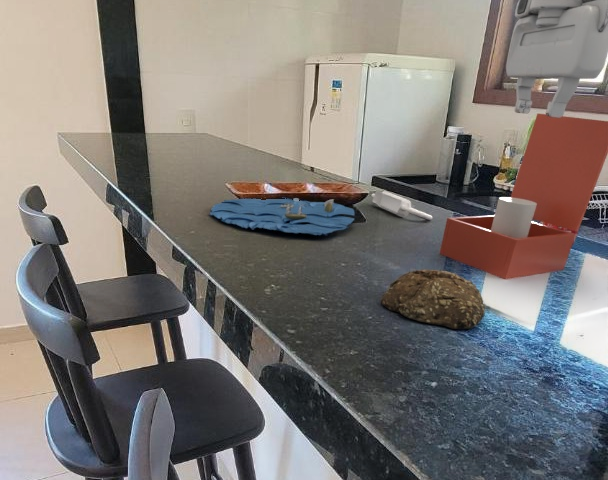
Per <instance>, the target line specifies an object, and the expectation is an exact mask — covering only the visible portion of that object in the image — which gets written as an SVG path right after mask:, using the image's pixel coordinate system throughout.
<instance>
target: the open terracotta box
mask: <svg viewBox="0 0 608 480" xmlns="http://www.w3.org/2000/svg"><path fill="white" fill-rule="evenodd" d="M494 216H495V214H492V215H491V214H490V215H475V216H473V215H472V216H458V217H447V218H446V222H445V226H444V230H443V236H442V240H441V245H440V249H439V255H441V256H444V257H446V258H449V259H452V260H454V261H457V262H459V263H462V264H465V265H466V266H469V267H472V268H473V269H474V268H475V269H477V270H480V271H482V272H485V273H488V274H490V275H492V276H495V277H498V278H501V279H503V280H511V279H517V278H524V277H530V276H537V275H542V274H549V273H554V272H559V271H560V272H561V271H564V270H565V267H566V264H567V262H568V258H569V255H570V252H571V249H572V248H573V246H572V244H573V241H574V238H575V235H576V234H574V233H570V232H567V231H563V230H560V229H556V228H552V227H549V226H545V225H542V224H540V223H538V222H535V221H532V223H531V226H530V229H529V233H528V236H527V237H524V238H513V237H510V236H506V235H503V234H500V233H497V232H494V231H491V227H492V223H493V220H494ZM574 242H575V241H574ZM573 245H574V244H573ZM571 247H572V248H571Z"/></svg>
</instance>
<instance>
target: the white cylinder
mask: <svg viewBox="0 0 608 480" xmlns="http://www.w3.org/2000/svg"><path fill="white" fill-rule="evenodd" d="M536 205H537V203H535V202H533V201H529V200H525V199H519V198H512V197H511V196H501V197H500V196H499V198H498V199H497V205H496V208H495V212H494V215H495V216H494V220H493V223H492V227H491V231H494V232H497V233H500V234H503V235H506V236H510V237H513V238H524V237H527V236H528V233H529V229H530V226H531V223H532V222H533V220H534V219H533V216H534V212H535V209H536Z"/></svg>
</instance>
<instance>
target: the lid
mask: <svg viewBox="0 0 608 480" xmlns="http://www.w3.org/2000/svg"><path fill="white" fill-rule="evenodd" d="M607 157H608V120H601V119H600V120H599V119H590V118H583V117H575V116H574V117H573V116H566V115H565V116H564V115H563V116H562V117H561V118H557V117H549V116H546V113H536V117H535V119H534V124H533V125H532V128H531V132H530V135H529V138H528V141H527V144H526V147H525V151H524V154H523V157H522V160H521V164H520V167H519V169H518V172H517V176H516V179H515V182H514V185H513V187H512V190H511V191H512V192H511V194H510V197H512V198H519V199H525V200H529V201H533V202H535V203H537V205H536V209H535V212H534V216H533V219H532V220H534V221H538V222H545V223H548V224H552V225H555V226H559V227H563V228H566V229H570V230H573V231H578V232H579V230H580V227H581V224H582V222H583V219H584V217H585V214H586V211H587V209H588V206H589V204H590V201H591V198H592V195H593V193H594V191H595V187H596V185H597V183H598V180H599V177H600V174H601V172H602V169H603V166H604V165H605V162H606V159H607Z"/></svg>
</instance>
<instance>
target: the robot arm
mask: <svg viewBox="0 0 608 480" xmlns="http://www.w3.org/2000/svg"><path fill="white" fill-rule="evenodd" d="M514 17H515V18H517V19H518V18H519V19H518V20H517V21H516V22H515V25H514V27H513V31H512V35H511V38H510V43H509V49H508V54H507V58H506V64H505V71H506V76H507V78H511V79H512V78H513V79H517V81H516V85H515V90H516V101H515V105H514V112H515V113H516V114H523V115H524V114H526V115H527V114H529V113H530V112H531V110H532V109H531V108H532V105H533V100H531V97H532V88H534V87H535V83H536V80H557V83H556V88H557V89H556V91H555V93H554V96H553V98H552V100H551V101H548V103H547V105H546V110H545V114H546V116H549V117H557V118H561V117H562V116H564V115H565V110H566V108H567V104H568V103H569V102H570V100H571V98H572V97H573V95H574V94H575V92H576V91H577V89H578V87H579V83H580V80H588V79H589V80H591V79H592V80H593V79H597V78H598V77H599V76H600V74H601V72H602V71H603V69H604V68H605V65H606V62H607V57H608V0H518V1H517V3H516V6H515V11H514Z"/></svg>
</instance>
